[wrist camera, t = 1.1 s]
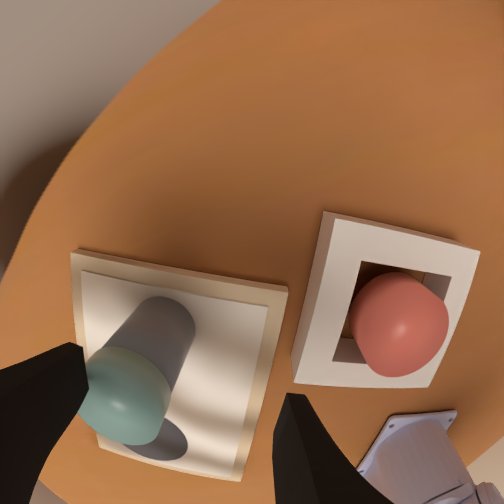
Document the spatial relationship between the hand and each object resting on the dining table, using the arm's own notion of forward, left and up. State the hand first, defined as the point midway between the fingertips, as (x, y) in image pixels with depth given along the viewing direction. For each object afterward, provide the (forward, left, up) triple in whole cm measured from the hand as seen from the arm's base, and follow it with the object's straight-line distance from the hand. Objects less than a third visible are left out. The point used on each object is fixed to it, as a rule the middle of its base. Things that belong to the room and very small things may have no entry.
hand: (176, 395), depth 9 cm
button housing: (+1, -10, -10) cm, 14 cm away
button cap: (+1, -10, -8) cm, 13 cm away
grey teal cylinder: (-2, +3, -8) cm, 9 cm away
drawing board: (-9, +3, -10) cm, 13 cm away
